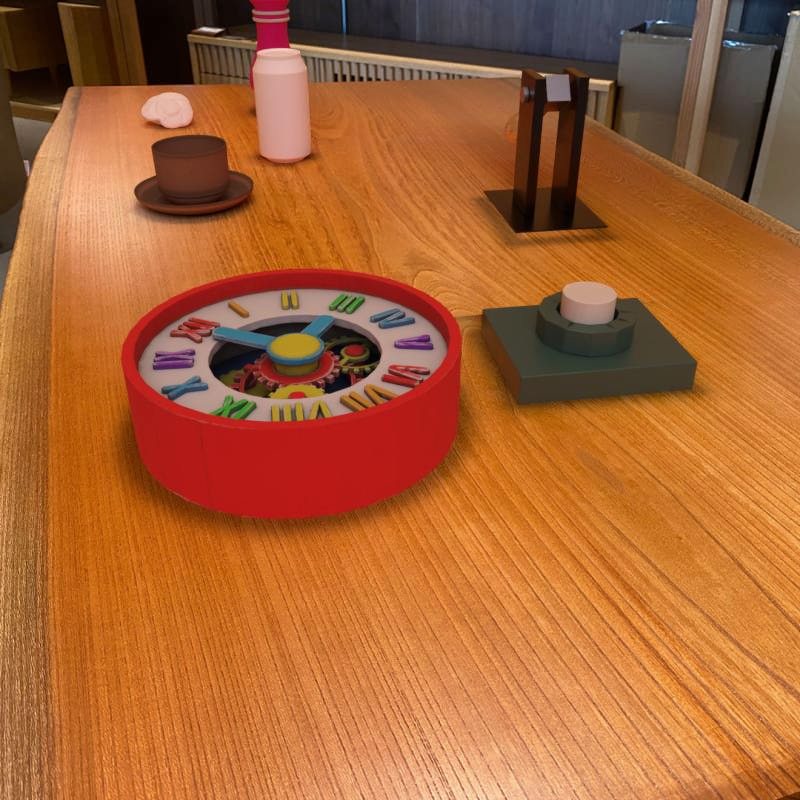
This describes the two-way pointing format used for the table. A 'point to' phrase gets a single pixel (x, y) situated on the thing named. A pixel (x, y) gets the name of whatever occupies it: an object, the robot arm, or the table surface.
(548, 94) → the lever
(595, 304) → the button
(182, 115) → the spiral seashell
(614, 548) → the table surface
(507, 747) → the table surface
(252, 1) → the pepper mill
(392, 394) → the toy clock
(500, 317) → the button box
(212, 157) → the cup and saucer
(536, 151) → the bracket
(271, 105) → the beverage can
